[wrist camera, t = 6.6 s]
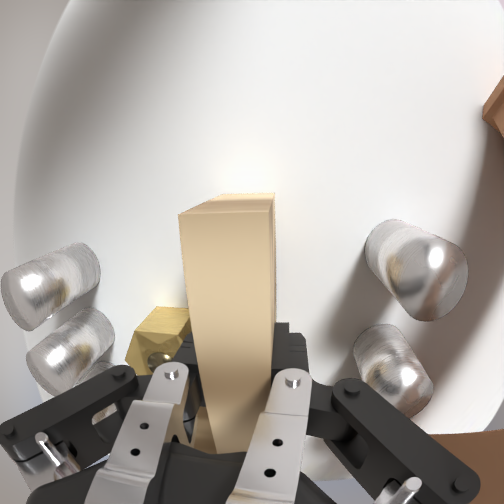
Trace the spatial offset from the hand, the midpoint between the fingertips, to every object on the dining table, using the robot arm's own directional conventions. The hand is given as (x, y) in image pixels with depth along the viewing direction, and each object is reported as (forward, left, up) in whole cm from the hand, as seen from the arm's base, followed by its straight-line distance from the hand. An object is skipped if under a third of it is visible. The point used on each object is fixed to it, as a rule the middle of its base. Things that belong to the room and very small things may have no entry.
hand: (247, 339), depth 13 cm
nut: (+2, -4, -3) cm, 6 cm away
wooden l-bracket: (0, -3, -2) cm, 4 cm away
